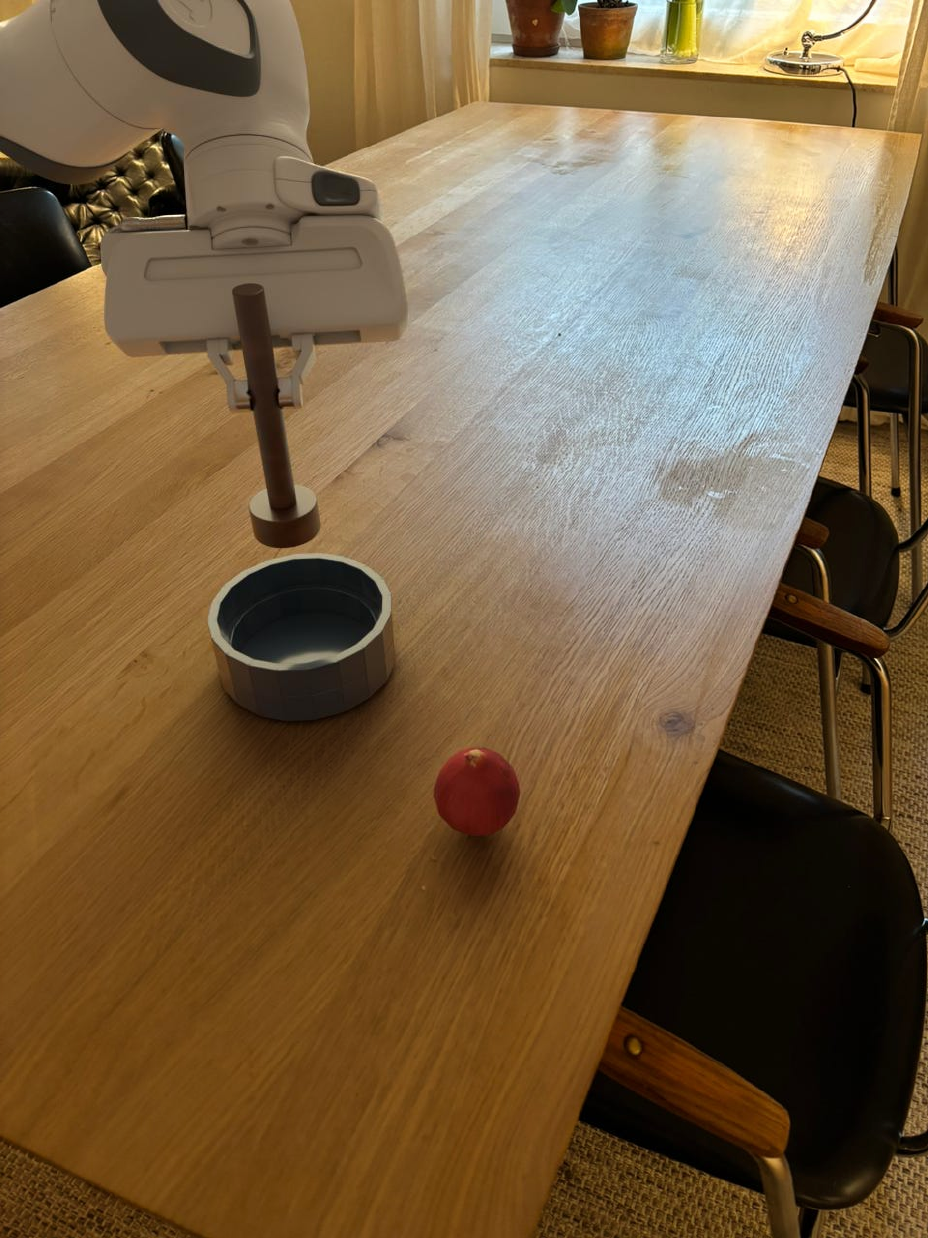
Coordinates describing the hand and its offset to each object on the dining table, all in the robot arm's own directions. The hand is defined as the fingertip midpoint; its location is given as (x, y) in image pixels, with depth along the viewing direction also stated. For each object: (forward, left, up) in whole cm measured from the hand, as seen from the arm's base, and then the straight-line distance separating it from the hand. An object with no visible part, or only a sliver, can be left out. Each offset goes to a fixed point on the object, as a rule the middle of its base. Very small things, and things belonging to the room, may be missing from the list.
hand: (266, 408), depth 67 cm
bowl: (0, +1, -24) cm, 24 cm away
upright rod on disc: (0, +1, -10) cm, 10 cm away
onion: (+7, -20, -24) cm, 32 cm away
